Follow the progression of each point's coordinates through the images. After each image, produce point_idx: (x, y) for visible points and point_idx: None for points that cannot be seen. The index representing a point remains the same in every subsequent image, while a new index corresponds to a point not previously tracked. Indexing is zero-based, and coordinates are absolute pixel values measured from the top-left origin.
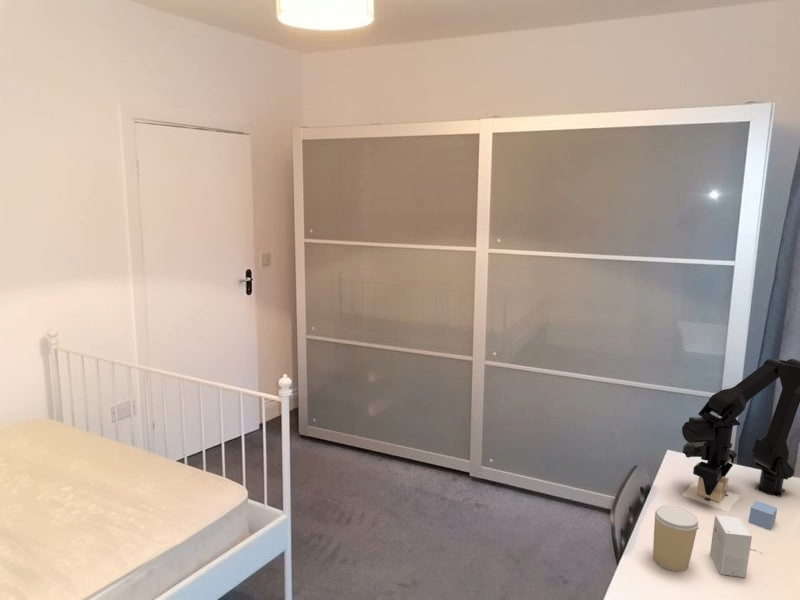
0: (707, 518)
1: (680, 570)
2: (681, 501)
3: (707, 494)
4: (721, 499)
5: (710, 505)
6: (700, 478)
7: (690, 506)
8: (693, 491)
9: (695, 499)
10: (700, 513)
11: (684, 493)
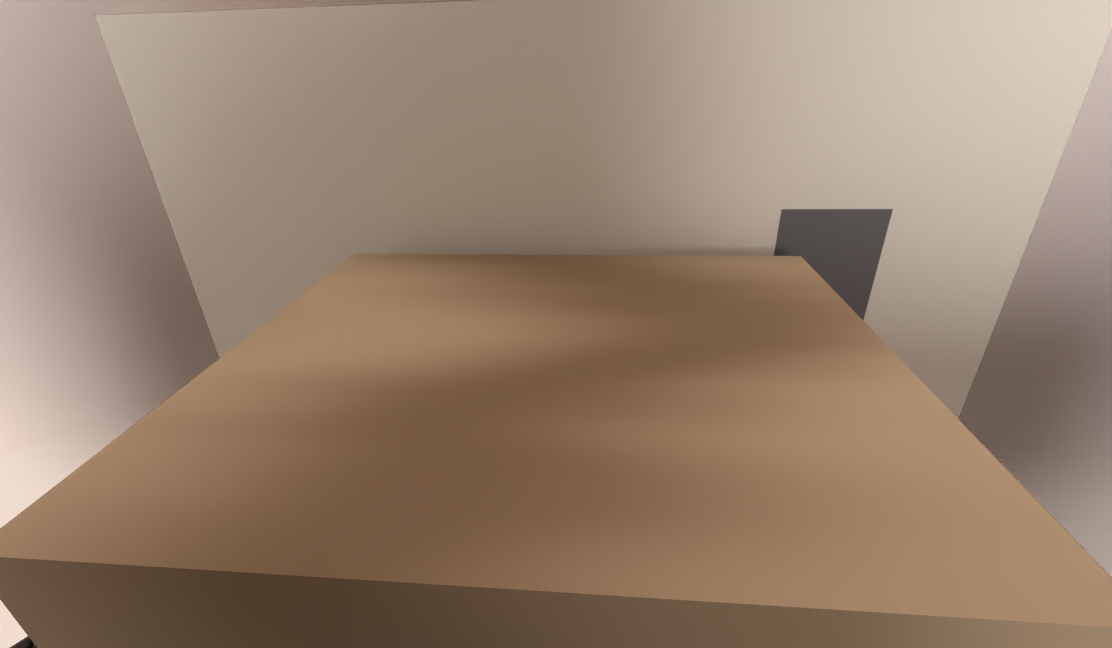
0: (24, 489)
1: None
2: (5, 95)
3: None
4: None
5: None
6: (14, 602)
7: (34, 266)
8: (470, 150)
9: (212, 283)
10: (29, 412)
11: (213, 36)
